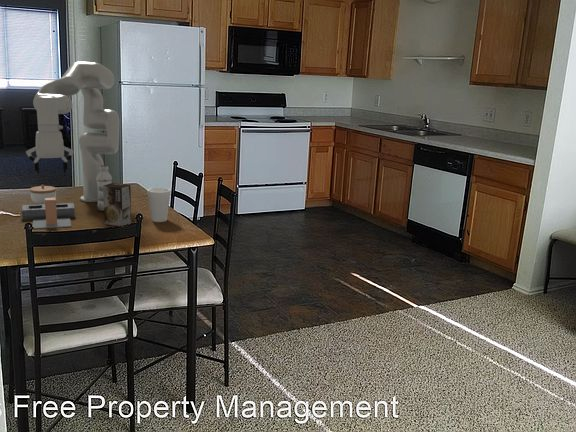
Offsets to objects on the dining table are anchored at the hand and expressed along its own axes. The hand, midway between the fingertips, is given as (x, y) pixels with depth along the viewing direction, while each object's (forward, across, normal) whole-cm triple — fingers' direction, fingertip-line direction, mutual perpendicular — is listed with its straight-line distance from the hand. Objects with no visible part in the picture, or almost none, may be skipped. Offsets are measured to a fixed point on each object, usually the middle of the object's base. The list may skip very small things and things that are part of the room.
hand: (51, 172), depth 225 cm
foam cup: (+21, -41, +6) cm, 46 cm away
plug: (+20, +1, +3) cm, 20 cm away
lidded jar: (+21, +4, -29) cm, 37 cm away
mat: (+21, +1, +3) cm, 21 cm away
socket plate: (+21, +2, -10) cm, 23 cm away
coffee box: (+21, -24, +8) cm, 33 cm away
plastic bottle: (+21, -21, -14) cm, 33 cm away
